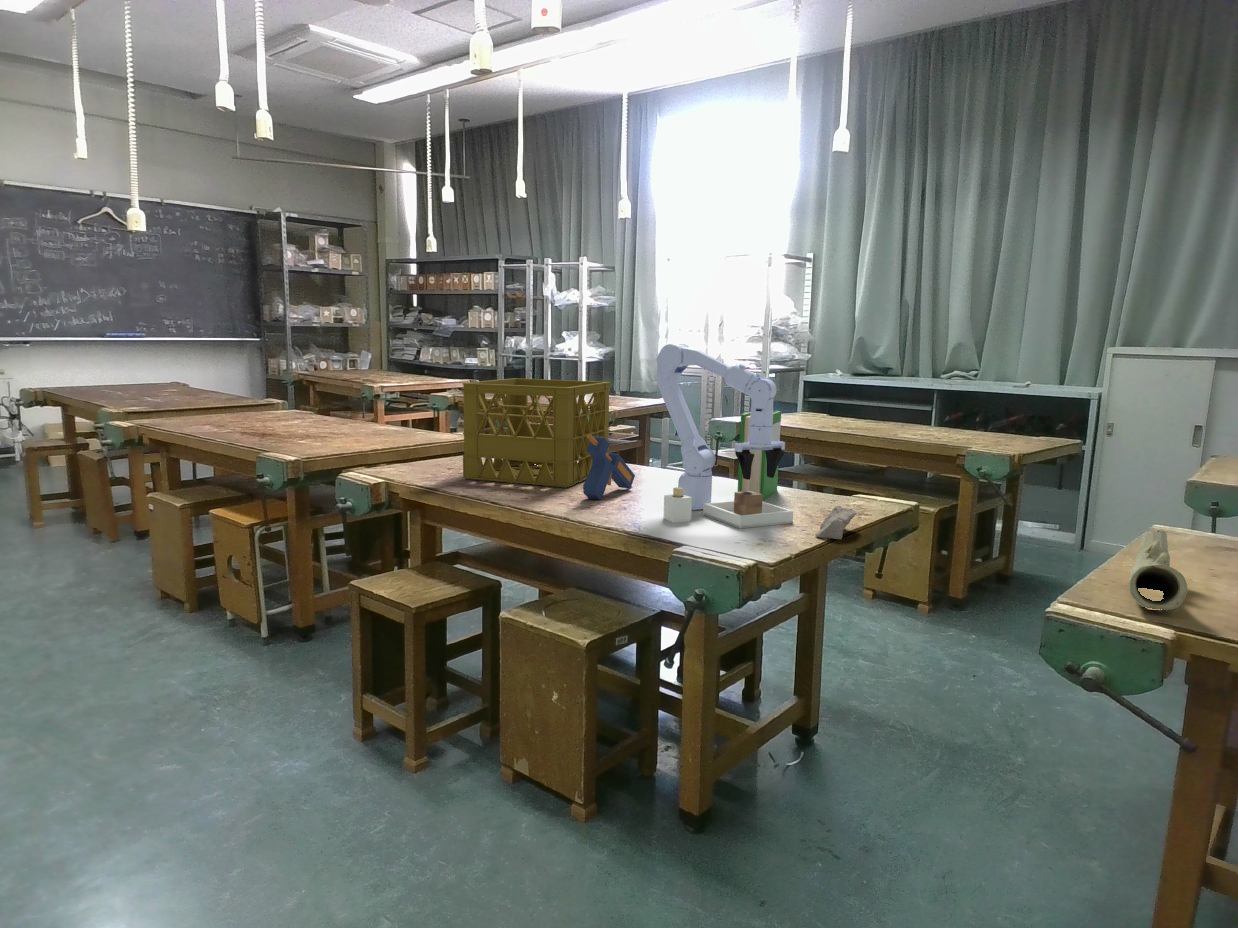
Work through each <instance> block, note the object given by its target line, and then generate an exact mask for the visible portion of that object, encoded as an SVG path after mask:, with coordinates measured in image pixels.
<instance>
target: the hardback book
mask: <svg viewBox="0 0 1238 928" xmlns="http://www.w3.org/2000/svg"><path fill="white" fill-rule="evenodd" d="M750 414H751V411H749V412H746V413H741V414H740V425H739V426H740V427H739V428H740V429H739V431H740V432H739V443H745V442H749V434H750ZM781 422H782V410H773V426H772V441H781V427H782V426H781ZM766 448H767V447H766ZM751 449H752V448H751ZM750 452H751V454H754V458H753V461H752V466H751V477H750V480H747V479H743V474H742V469H741V466H740V463H739V462H738V470H737V471H738V474H737V475H738V476H737V477H738V478H737V492H742V491H753V492H756V493H760V494H763V498H762V501H763V502H765V501H766V499H768V498H769V497H772V495H773V494H775V493H776V492H778V480H779V465H778V466H777V469H776V472H775V475H774V478H771V477H767V459H766V453H765V450H757V451H750Z"/></svg>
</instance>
